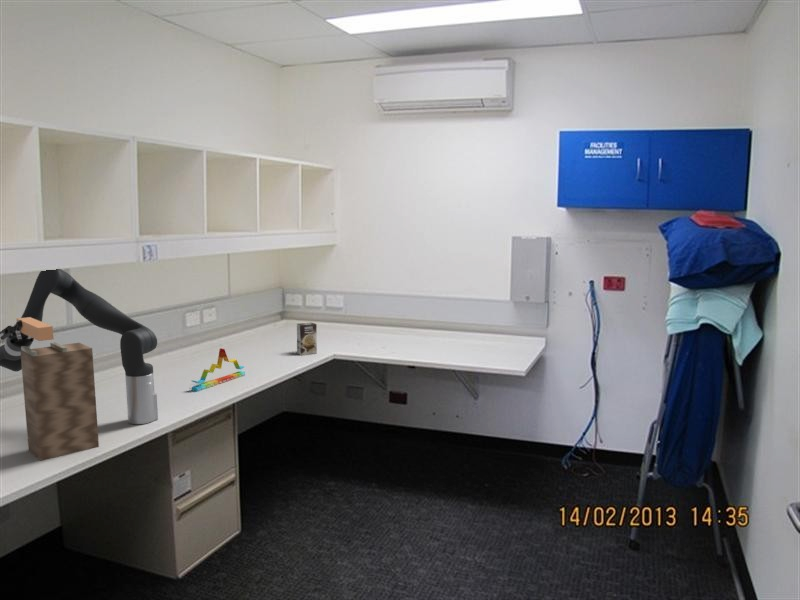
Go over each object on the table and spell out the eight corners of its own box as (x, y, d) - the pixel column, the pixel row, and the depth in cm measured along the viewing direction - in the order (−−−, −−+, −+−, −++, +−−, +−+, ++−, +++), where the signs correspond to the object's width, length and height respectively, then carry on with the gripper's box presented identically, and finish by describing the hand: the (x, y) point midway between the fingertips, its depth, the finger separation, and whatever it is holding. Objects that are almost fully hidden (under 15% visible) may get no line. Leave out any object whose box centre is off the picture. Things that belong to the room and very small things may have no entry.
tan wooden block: (31, 329, 212) (30, 317, 211) (53, 339, 195) (52, 326, 194) (17, 330, 209) (16, 318, 209) (39, 341, 192) (37, 327, 192)
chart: (197, 392, 268) (196, 357, 266) (191, 391, 269) (190, 356, 267) (245, 375, 294) (244, 343, 292) (240, 375, 296) (238, 343, 294)
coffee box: (301, 355, 335) (300, 325, 333) (296, 353, 340) (296, 323, 338) (317, 353, 339) (316, 323, 337) (313, 351, 345) (312, 321, 343)
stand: (85, 437, 213) (78, 339, 209) (98, 446, 205) (91, 344, 200) (28, 450, 202) (20, 346, 197) (40, 460, 193) (31, 352, 189)
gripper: (-8, 334, 213) (1, 313, 202) (39, 328, 223) (50, 308, 211) (-4, 355, 212) (6, 335, 200) (44, 348, 221) (55, 329, 210)
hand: (29, 322), depth 206 cm, fingers closed on tan wooden block, 4 cm apart
